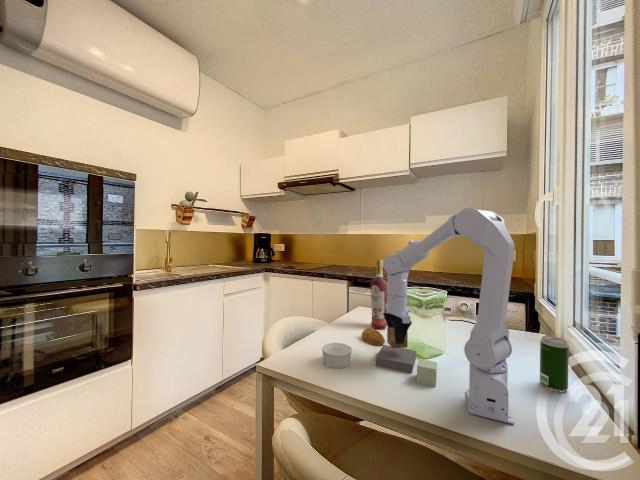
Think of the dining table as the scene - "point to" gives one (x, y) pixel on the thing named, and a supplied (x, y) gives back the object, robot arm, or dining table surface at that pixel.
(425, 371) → the sage green cube
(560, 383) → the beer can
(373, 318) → the liquor
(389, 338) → the walnut cube
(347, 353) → the ramekin
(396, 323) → the robot arm
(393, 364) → the charcoal slab
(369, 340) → the pastry
